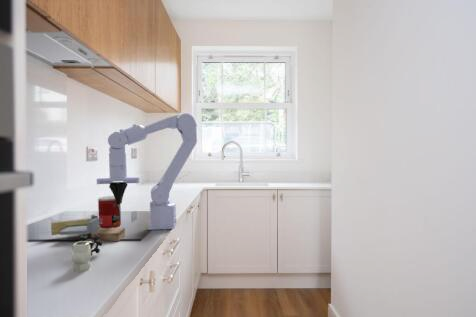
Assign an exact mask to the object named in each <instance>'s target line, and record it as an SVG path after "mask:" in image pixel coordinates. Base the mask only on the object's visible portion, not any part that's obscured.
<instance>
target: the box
mask: <svg viewBox="0 0 476 317" xmlns="http://www.w3.org/2000/svg"><path fill="white" fill-rule="evenodd" d="M96 235H99V236H100V237H99V239H98V242H100V241H102V242H103V243H104V242H105V243H108V242H120V241H121V240H122V239H123V238H124V237H125V236H124V235H126V227H114V228H101V227H100V229H98V230H97V231H96V232H94V233H93V234H92V237H95V236H96ZM85 236H86V237H87V234H85ZM123 236H124V237H123ZM86 237H85V238H86ZM122 237H123V238H122ZM85 241H88V242H89V241H90V242H94V240H93V239H87V240H85Z"/></svg>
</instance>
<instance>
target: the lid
mask: <svg viewBox="0 0 476 317" xmlns="http://www.w3.org/2000/svg"><path fill="white" fill-rule="evenodd" d="M100 228H101V227H100V225H99V217H98V218H94V219H92V220H91V221H89V222H87V226H69V227H68V228H66V229H64V230H62V231H60V234H59V235H60V236H64V235H86V234H88V233H92V234H93V233H94V232H96V231H97V230H98V229H100Z"/></svg>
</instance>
